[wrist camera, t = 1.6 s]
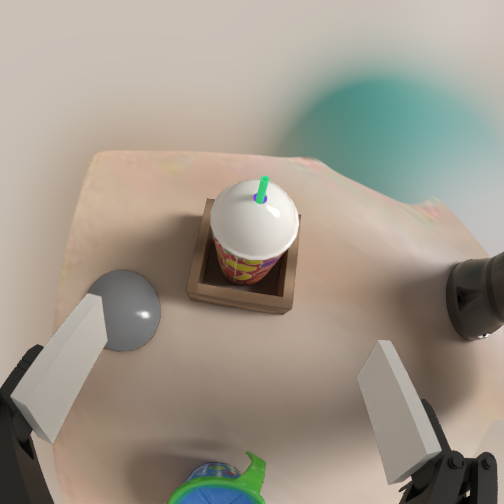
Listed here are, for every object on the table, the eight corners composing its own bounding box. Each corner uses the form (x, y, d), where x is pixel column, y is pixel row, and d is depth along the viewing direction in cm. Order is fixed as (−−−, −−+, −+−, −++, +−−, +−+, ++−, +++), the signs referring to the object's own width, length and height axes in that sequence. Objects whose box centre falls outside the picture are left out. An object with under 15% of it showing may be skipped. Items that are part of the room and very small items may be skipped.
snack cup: (228, 423, 32) (231, 447, 22) (286, 468, 30) (307, 499, 21) (151, 488, 27) (132, 521, 18) (208, 529, 25) (207, 568, 16)
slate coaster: (129, 256, 38) (127, 254, 37) (177, 316, 36) (176, 315, 35) (74, 304, 35) (71, 303, 34) (118, 367, 33) (115, 368, 32)
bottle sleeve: (208, 215, 42) (207, 198, 37) (292, 230, 42) (300, 214, 38) (190, 299, 37) (185, 291, 33) (283, 314, 38) (291, 308, 33)
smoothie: (223, 228, 41) (227, 128, 23) (279, 244, 41) (324, 155, 23) (205, 283, 38) (192, 211, 20) (266, 300, 38) (310, 244, 20)
